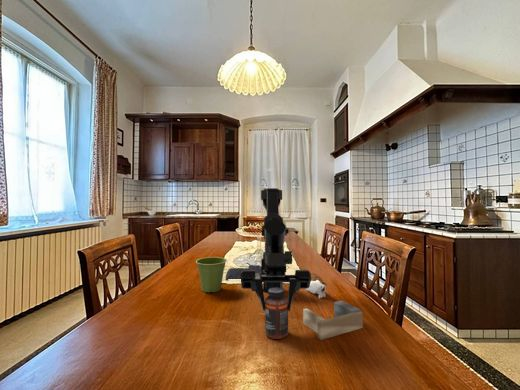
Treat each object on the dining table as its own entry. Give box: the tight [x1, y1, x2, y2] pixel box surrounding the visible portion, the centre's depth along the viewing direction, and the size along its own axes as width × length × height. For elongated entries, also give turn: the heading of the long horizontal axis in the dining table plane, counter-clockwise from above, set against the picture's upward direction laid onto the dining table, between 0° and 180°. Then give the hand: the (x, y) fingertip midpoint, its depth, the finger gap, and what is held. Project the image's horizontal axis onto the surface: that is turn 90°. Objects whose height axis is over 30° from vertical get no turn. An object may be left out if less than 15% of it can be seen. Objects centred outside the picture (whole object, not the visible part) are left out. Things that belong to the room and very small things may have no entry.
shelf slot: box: [302, 300, 364, 341], centre depth 73 cm, size 9×14×4 cm, turn 116°
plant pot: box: [195, 256, 228, 293], centre depth 104 cm, size 12×12×11 cm
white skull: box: [304, 280, 327, 299], centre depth 98 cm, size 5×7×10 cm
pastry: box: [310, 272, 324, 284], centre depth 112 cm, size 9×7×4 cm
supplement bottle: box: [264, 287, 289, 340], centre depth 69 cm, size 6×6×11 cm
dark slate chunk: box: [225, 264, 261, 279], centre depth 122 cm, size 15×22×5 cm
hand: (276, 310), depth 68 cm, fingers closed on supplement bottle, 6 cm apart
